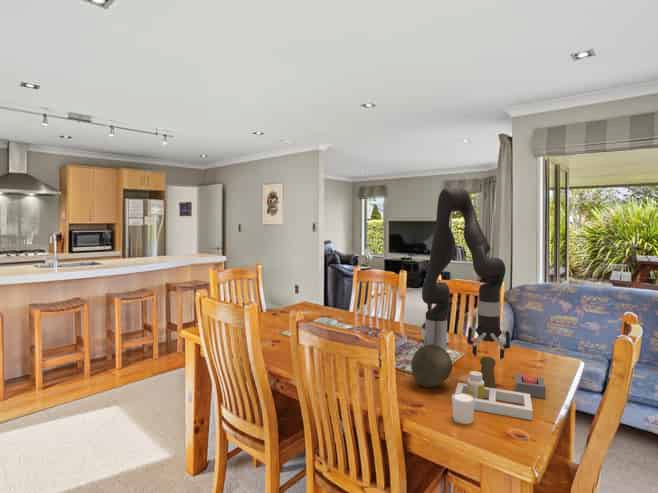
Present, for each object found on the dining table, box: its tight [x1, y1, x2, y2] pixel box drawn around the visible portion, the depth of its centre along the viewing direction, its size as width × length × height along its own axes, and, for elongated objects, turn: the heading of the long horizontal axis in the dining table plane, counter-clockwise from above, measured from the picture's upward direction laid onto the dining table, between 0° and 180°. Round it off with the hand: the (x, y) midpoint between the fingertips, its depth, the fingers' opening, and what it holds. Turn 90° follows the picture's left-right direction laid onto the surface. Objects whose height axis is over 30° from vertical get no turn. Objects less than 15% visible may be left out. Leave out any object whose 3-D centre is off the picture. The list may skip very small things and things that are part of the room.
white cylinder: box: [451, 393, 475, 425], centre depth 122 cm, size 7×7×7 cm
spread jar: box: [420, 318, 450, 344], centre depth 196 cm, size 12×11×12 cm
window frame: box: [454, 382, 534, 421], centre depth 132 cm, size 23×12×3 cm, turn 67°
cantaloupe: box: [410, 344, 453, 388], centre depth 146 cm, size 14×14×15 cm
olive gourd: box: [479, 355, 497, 389], centre depth 145 cm, size 6×6×11 cm
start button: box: [523, 375, 537, 384], centre depth 141 cm, size 4×4×3 cm
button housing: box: [514, 373, 547, 400], centre depth 142 cm, size 9×9×4 cm
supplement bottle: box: [466, 370, 485, 400], centre depth 134 cm, size 5×5×10 cm
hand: (488, 357), depth 144 cm, fingers open, 8 cm apart
